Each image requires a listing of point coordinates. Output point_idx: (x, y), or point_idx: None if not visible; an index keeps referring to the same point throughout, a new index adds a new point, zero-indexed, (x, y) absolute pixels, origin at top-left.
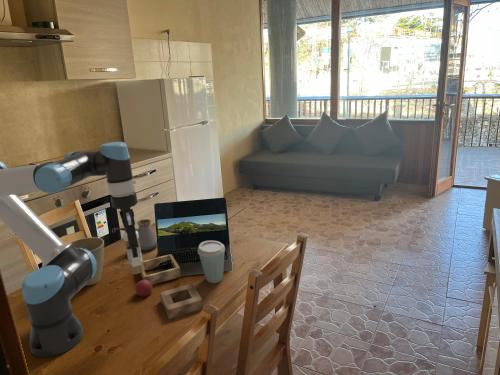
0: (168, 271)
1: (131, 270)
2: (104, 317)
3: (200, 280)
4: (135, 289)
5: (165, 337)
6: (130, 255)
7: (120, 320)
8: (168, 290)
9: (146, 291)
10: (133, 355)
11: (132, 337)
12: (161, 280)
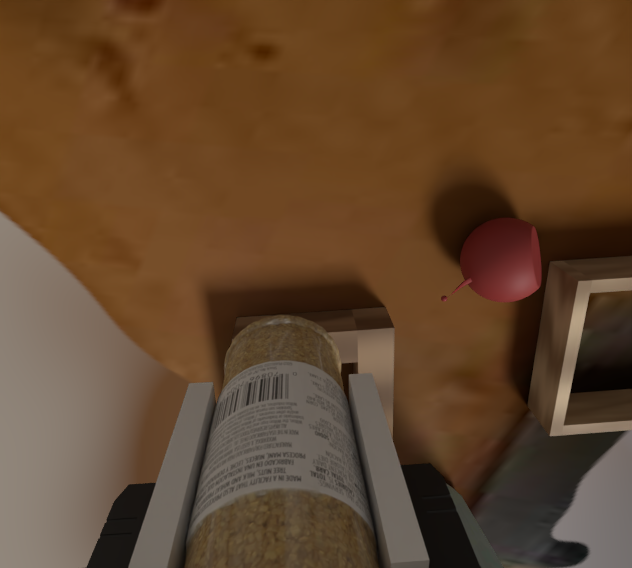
0: (556, 388)
1: (253, 336)
2: (390, 34)
3: (449, 461)
4: (509, 221)
5: (119, 287)
6: (183, 472)
7: (322, 116)
8: (390, 363)
9: (462, 268)
10: (37, 153)
11: (165, 160)
12: (543, 334)
